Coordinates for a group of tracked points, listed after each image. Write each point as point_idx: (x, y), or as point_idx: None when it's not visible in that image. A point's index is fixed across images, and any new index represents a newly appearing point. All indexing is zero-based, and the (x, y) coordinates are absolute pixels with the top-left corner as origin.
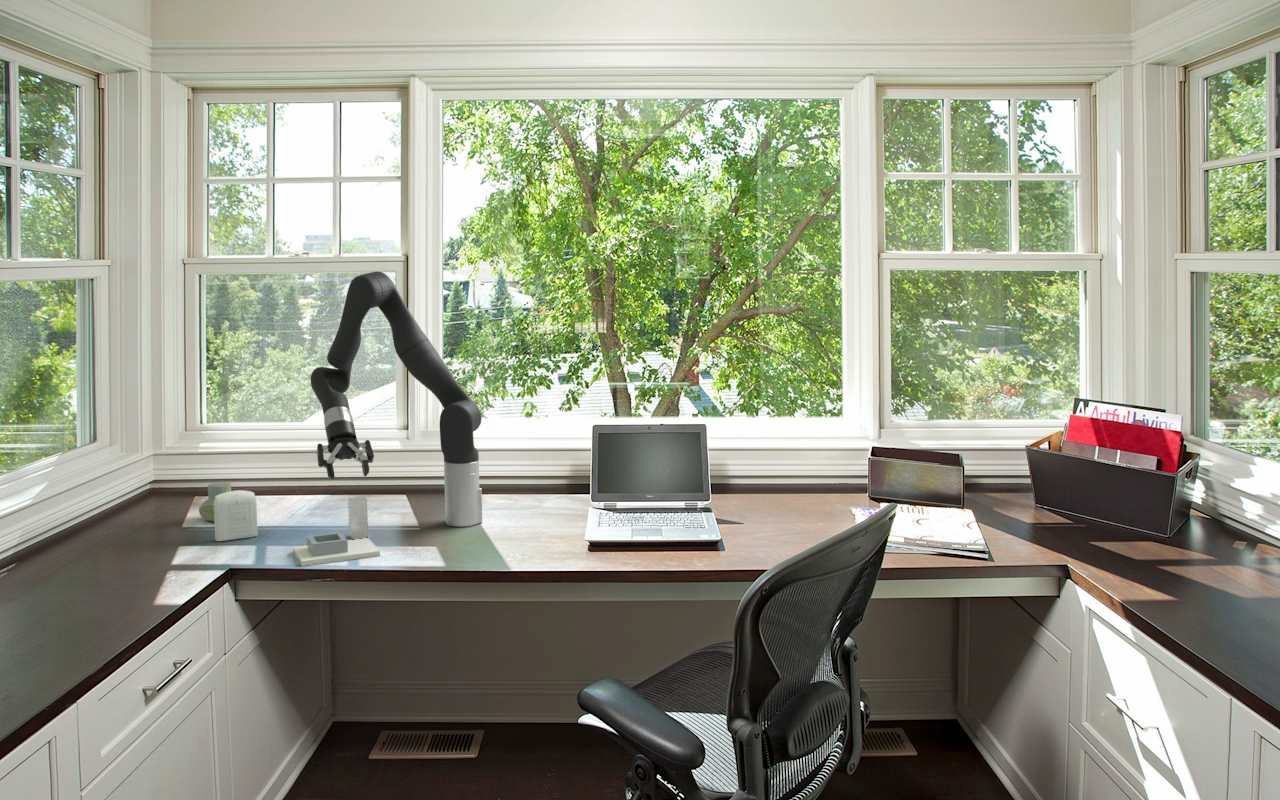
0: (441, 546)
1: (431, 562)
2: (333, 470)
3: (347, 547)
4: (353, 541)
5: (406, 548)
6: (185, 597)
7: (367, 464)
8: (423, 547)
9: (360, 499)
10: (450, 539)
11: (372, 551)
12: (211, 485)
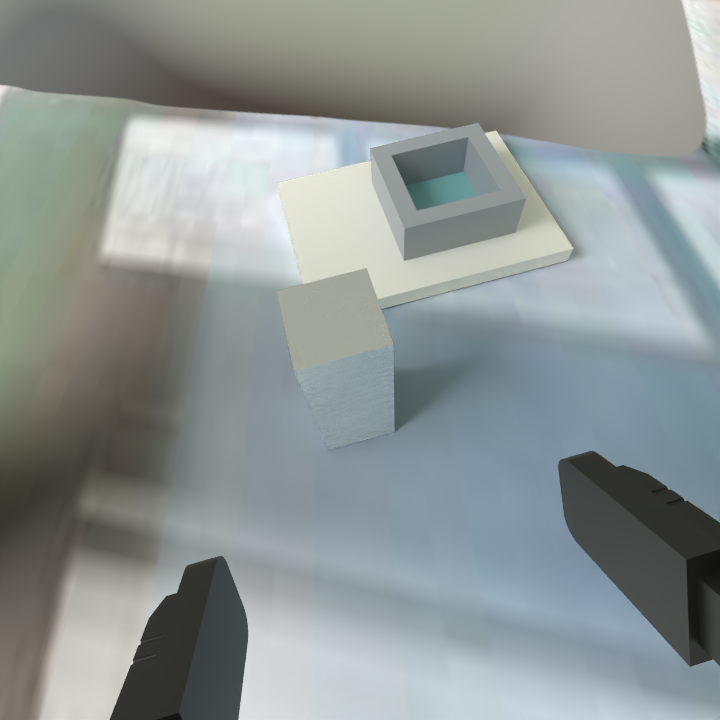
0: (85, 253)
1: (154, 140)
2: (599, 484)
3: (371, 169)
4: None
5: (193, 248)
6: (690, 15)
7: (132, 696)
8: (140, 251)
9: (313, 300)
10: (28, 319)
11: (297, 180)
12: None
